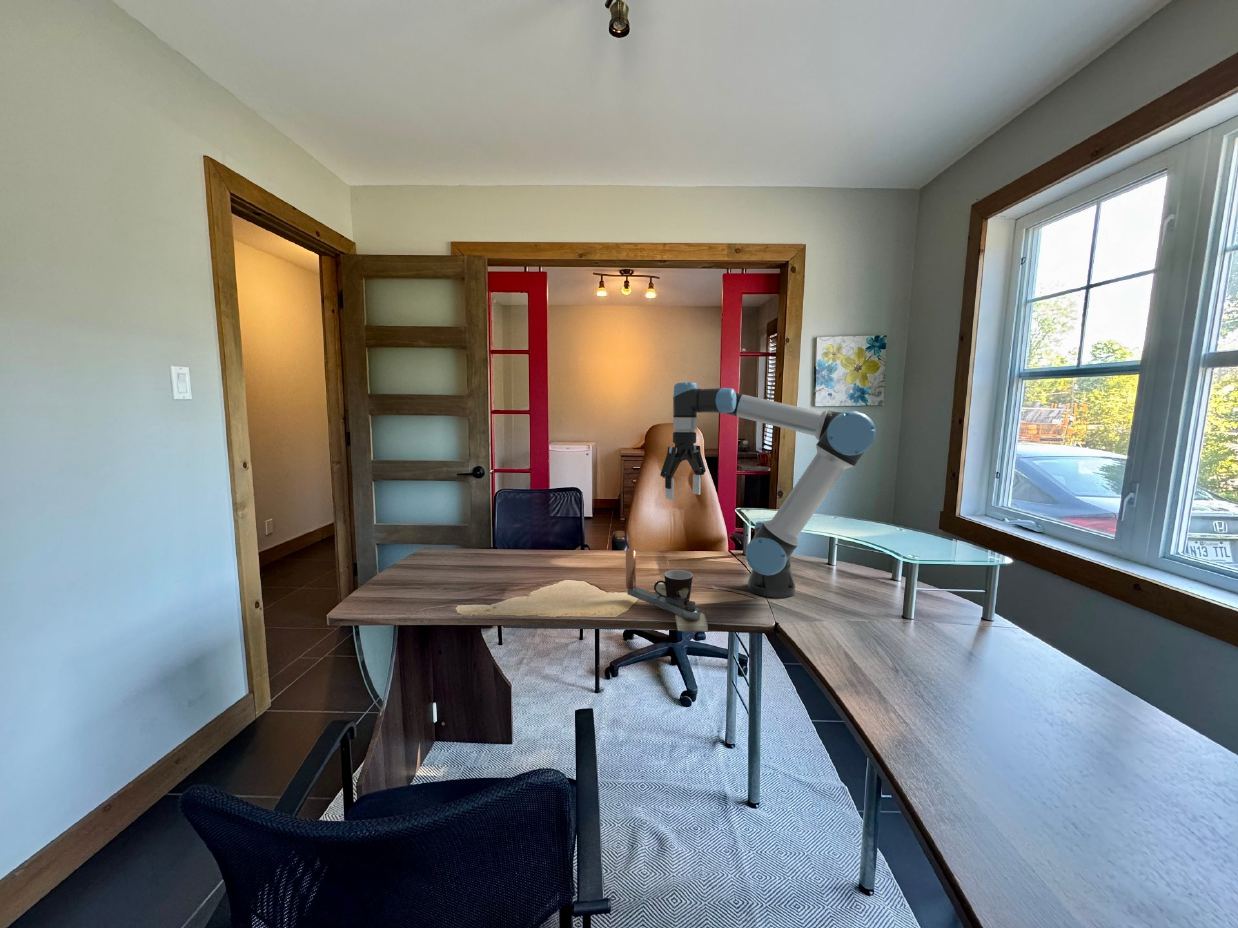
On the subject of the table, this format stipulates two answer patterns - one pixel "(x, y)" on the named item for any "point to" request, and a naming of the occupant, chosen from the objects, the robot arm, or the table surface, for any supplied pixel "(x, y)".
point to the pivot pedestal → (691, 625)
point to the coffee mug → (677, 584)
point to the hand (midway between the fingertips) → (683, 496)
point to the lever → (669, 603)
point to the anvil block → (661, 589)
